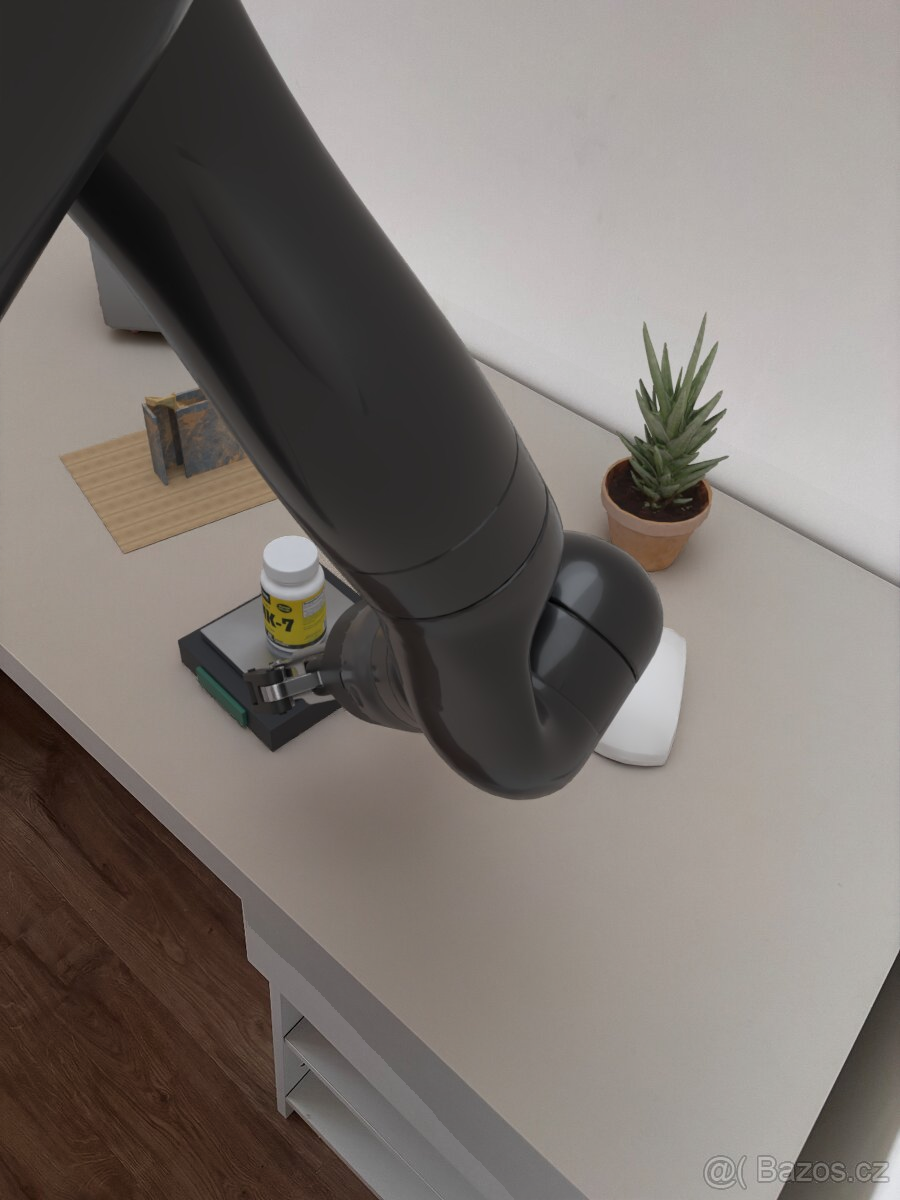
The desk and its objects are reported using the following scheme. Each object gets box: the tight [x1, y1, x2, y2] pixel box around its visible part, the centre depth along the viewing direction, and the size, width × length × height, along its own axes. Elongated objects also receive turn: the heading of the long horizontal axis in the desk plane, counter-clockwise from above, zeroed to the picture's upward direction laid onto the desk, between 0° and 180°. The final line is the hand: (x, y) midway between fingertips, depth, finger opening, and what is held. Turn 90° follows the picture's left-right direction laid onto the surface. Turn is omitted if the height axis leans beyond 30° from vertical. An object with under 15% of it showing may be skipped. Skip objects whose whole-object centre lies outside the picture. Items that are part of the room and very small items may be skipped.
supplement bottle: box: [259, 535, 327, 653], centre depth 80 cm, size 5×5×8 cm
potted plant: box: [600, 311, 730, 573], centre depth 88 cm, size 10×10×25 cm
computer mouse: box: [593, 626, 687, 767], centre depth 81 cm, size 6×13×6 cm, turn 166°
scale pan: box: [200, 579, 355, 701], centre depth 83 cm, size 11×10×1 cm
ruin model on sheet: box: [58, 386, 278, 554], centre depth 99 cm, size 25×16×10 cm, turn 124°
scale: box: [177, 561, 363, 752], centre depth 84 cm, size 14×12×2 cm
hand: (337, 658), depth 72 cm, fingers open, 8 cm apart
